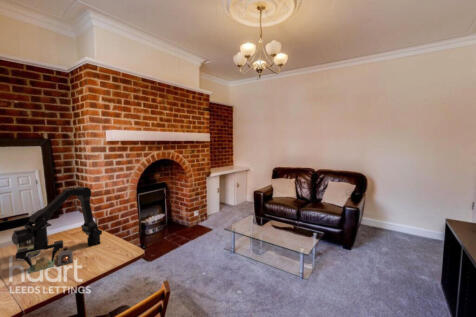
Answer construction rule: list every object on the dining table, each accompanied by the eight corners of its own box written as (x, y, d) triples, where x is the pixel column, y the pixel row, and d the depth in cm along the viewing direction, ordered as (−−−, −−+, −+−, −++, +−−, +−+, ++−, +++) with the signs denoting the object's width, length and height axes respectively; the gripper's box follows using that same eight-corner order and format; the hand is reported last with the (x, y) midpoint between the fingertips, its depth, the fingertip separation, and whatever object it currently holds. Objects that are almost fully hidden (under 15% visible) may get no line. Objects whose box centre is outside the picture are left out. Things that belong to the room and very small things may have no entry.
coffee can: (45, 252, 132) (44, 230, 131) (26, 261, 122) (24, 237, 121) (32, 250, 134) (30, 228, 133) (12, 259, 124) (10, 236, 123)
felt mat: (54, 260, 124) (54, 259, 124) (53, 266, 118) (53, 265, 118) (30, 266, 118) (30, 265, 118) (28, 273, 111) (28, 272, 111)
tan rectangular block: (36, 264, 119) (36, 258, 118) (48, 261, 122) (48, 255, 122) (35, 270, 113) (34, 264, 113) (47, 266, 116) (47, 260, 116)
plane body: (58, 255, 129) (58, 247, 129) (72, 251, 133) (72, 244, 133) (57, 266, 117) (57, 258, 117) (72, 262, 121) (72, 254, 121)
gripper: (62, 227, 128) (64, 252, 130) (18, 235, 117) (20, 263, 118) (62, 233, 120) (63, 260, 121) (14, 243, 108) (16, 273, 109)
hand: (42, 263), depth 118 cm, fingers open, 8 cm apart
